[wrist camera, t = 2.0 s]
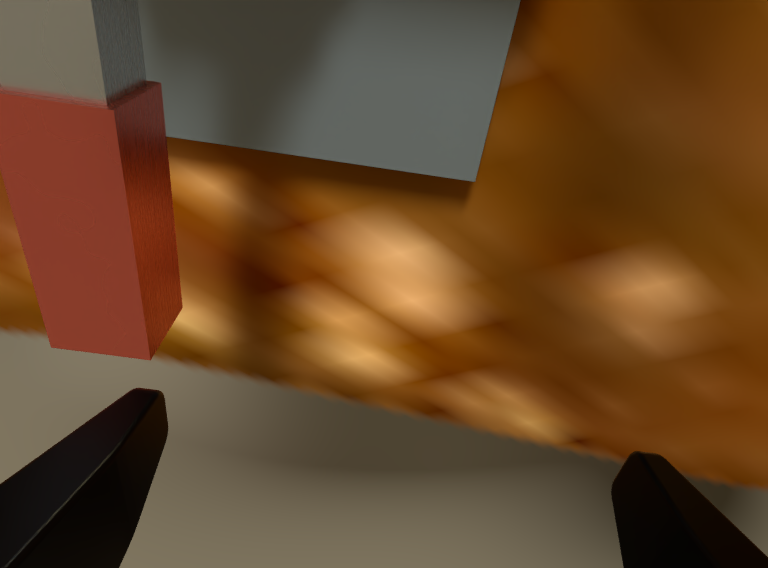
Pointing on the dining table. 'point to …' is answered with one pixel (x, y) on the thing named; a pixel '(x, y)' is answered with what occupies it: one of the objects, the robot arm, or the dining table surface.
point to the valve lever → (89, 173)
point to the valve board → (333, 77)
